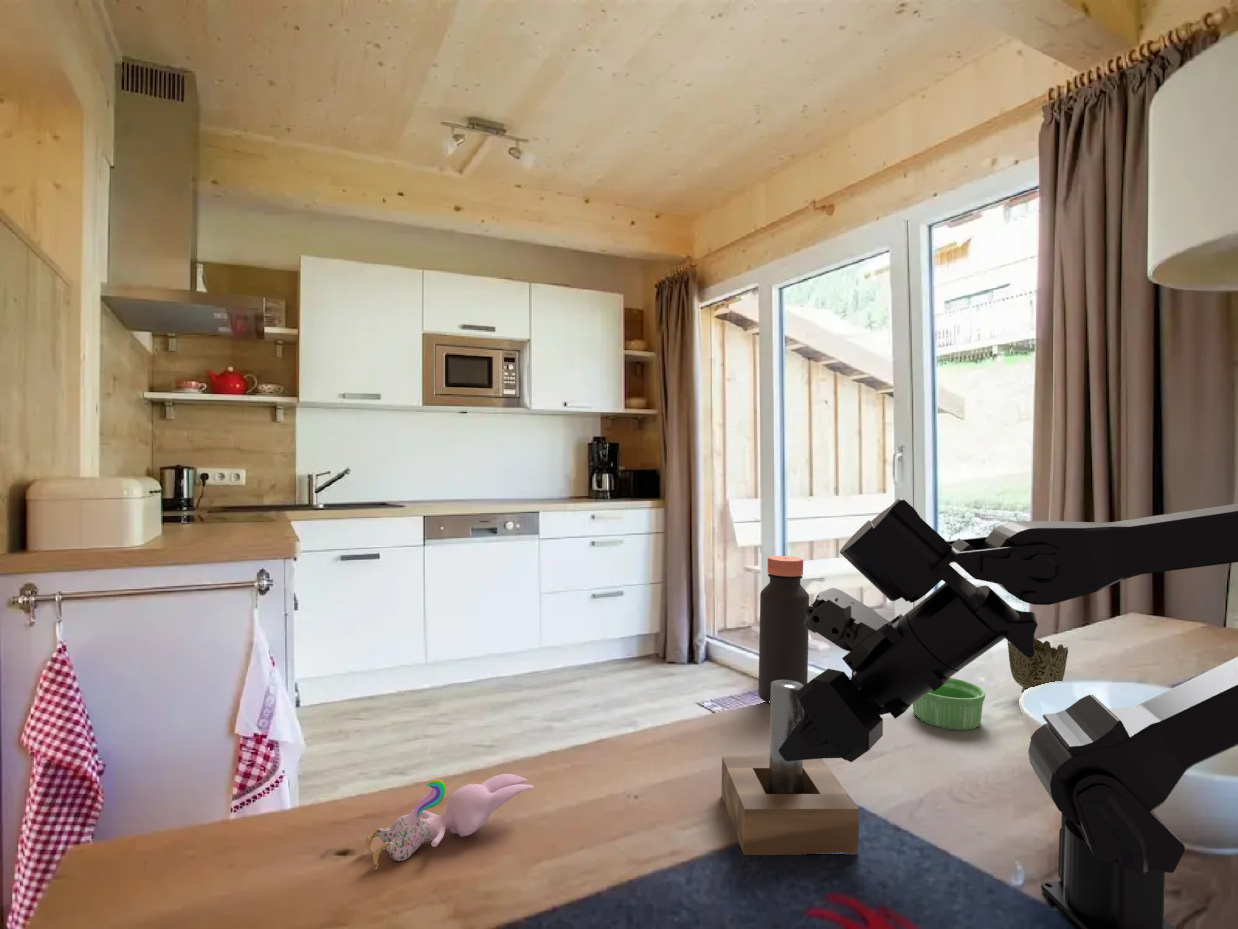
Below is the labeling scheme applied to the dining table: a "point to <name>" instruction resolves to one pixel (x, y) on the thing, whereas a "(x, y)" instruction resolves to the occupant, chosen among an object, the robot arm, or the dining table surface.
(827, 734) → the robot arm
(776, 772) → the steel rod
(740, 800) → the walnut square frame
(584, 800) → the dining table surface
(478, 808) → the rabbit figure
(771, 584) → the bottle
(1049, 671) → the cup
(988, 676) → the dining table surface
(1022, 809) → the dining table surface
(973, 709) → the ramekin
